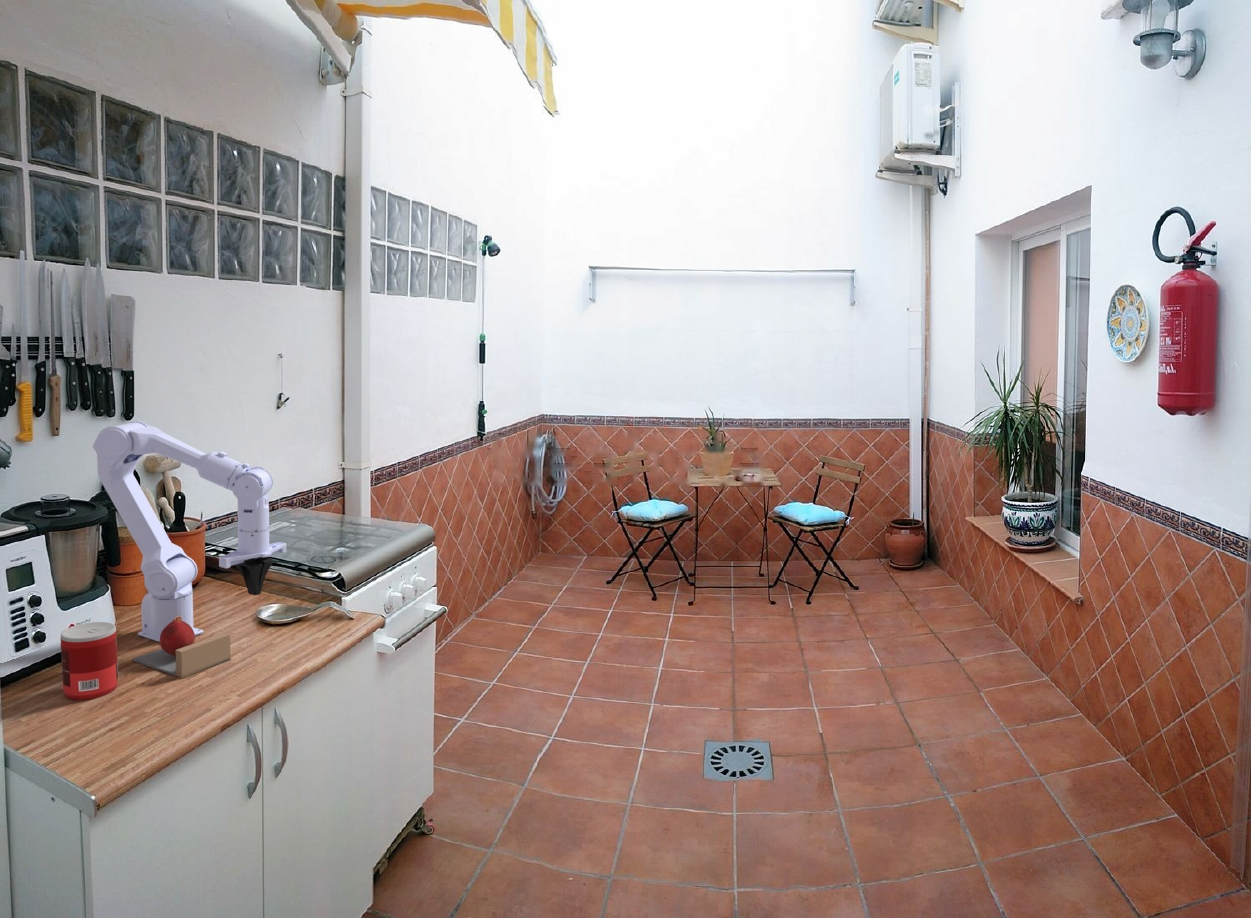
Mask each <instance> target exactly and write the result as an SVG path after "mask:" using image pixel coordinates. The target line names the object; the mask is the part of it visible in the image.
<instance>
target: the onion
mask: <svg viewBox="0 0 1251 918" xmlns="http://www.w3.org/2000/svg"><path fill="white" fill-rule="evenodd" d="M181 619H182V618H181V617H180V616H177V617H175V618H174V620H173V621H172V622H171V623H169V624H168V625H167V626H166V627H165V628H164V629H163V630H162V632H161V635H160V642H159V646H160V647H161V648H160V649H163V650H164V651H165V652H167V653H168V654H170V655H173V656H175V657H176V650H177V649H180V648H183V647H186V646H189V645H191V644H194V642H195V640H196V635H195V633H194V631H193V629H192V627H191V626H190V625H189V624H187V623H186V622H183V621H181Z"/></svg>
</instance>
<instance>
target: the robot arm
mask: <svg viewBox="0 0 1251 918" xmlns="http://www.w3.org/2000/svg"><path fill="white" fill-rule="evenodd" d="M92 448H93V450H94V452H95V453H96V460H97V461H96V463H97V464H96V465H97V476H98V478H99V480H100V482H101V485H102V486H103V487H104V490H105V491H106V493H107V495H108V496H109V498H110V500H111V502H112V503H113V505H114V507H115V509H116V510H117V512H118V515H119V516H120V518H121V519H122V521H123V523H124V525H125V526H126V528H127V530H128V531H129V533H130V535H131V538H133V541H134V542H135V544H136V546H137V547H138V549H139V551H140V552H141V554H142V559H141V564H140V571H141V572H142V575H143V578H144V579H143V580H144V586H145V587H144V588H145V589H146V590H147V593H145V595H144V596H143V598H142V601H141V604H140V605H141V609H140V610H141V631H139V632H138V633H137V635H138V636H141V637H143V638H146V639H149V640H152V641H156V642H158V643H160V635H161V632H162V630H163V629H164V628H165V627H166V626H167V625H168V624H169V623H171V622H172V621H173V620H174V618H175V617H177V616H180V617H181V618H182V619H181V621H183V622H186V623H187V624H189V625H190V626H191V627H192V629H193V631H194V633H195V636H197V635H200V634H203V633H204V630H203V629H201V628H200V629H199V628H197V627H194V601H193V600H194V599H193V597H194V596H193V586H192V584H193V583H192V582H193V581H194V580H196V577H197V575H198V571H199V570H198V565H197V563H196V562H195V561H194V559H193V558H191V557H189V556H188V555H187V554H186V553H185V552H184V551H185V550H184V549H183V548H182V547H181V546H179V545H177V544H174V543H172V541H171V539H170V538H169V535H168V534H167V532H166V531H165V529H164V527H163V526H162V525H163V524H162V523H161V522H160V520H159V518H158V516H157V514H156V512H155V511H154V509H153V508H152V505H151V504H150V502H149V500H148V498H147V496H146V495H145V493H144V491H143V489H142V488H141V486H140V484H139V482H138V480H137V479H136V477H135V475H134V471H135V469H136V468H137V464H138V462H139V461H140V459H141V458H142V457H143V456H144V455H149V454H157V455H161V456H163V457H166V458H169V459H171V460H173V461H175V462H176V461H177V462H178V463H181V464H184V465H186V466H189V467H191V468H194V469H196V470H197V473H198V475H199V476H200V478H201V479H203V480H206V481H209V482H211V483H212V484H214V485H218V486H219V487H221V488H224V489H227V490H229V491H231V492H232V493H233V496H235V498H236V500H237V548H238V549H236V550H234V551H231V552H228V553H227V554H225V555H222V556H220V557H218V566H219V567H220V568H222V569H223V568H224V569H229V568H231V566H236V569H238V570H239V572H240V574H241V577H242V578H243V581H244V583H245V585H246V590H247V592H248V594H249V595H252V596H258V595H260V594H261V593H262V589H263V585H264V582H265V578H266V577H267V574H268V572H269V570H270V568H271V567H272V566H273V563H274V562H273V561H274V560H273V558H271V556H273V555H276V554H279V553H281V554H284V553H287V543H286V542H282V541H278V542H273V543H270V504H269V502H270V501H269V492H270V491H271V490H272V487H273V484H274V482H273V481H274V480H273V476H272V475H271V473H270V472H268V470H266V469H264V468H263V467H262V466H253V467H251V465H250V464H249V463H247V462H244V463H242V462H239V461H238V460H235V459H233V458H231V457H228V453H227V452H225V451H223V450H222V451H219V452H217V451H211V452H208V453H205V452H203V451H201V450H200V449H197V448H195V447H194V446H191V445H189V444H187V443H185V442H183V441H181V440H179V439H178V438H175V437H173V436H171V435H169V434H168V433H166V432H164V431H163V430H161V429H160V428H158V427H156V426H153V425H148V424H146V423H145V422H143V421H138V420H134V421H130V422H127V423H123V424H118V425H113V426H111V425H110V426H107V427H105V428H102V429H101V430H100V431H99V433H98V435H97V437H96V438H95V440H94V442H93V444H92Z"/></svg>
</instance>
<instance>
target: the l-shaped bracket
mask: <svg viewBox="0 0 1251 918" xmlns="http://www.w3.org/2000/svg"><path fill="white" fill-rule="evenodd" d="M229 661H231V634H228V633H225V632H223V633H220V634H217V635H215V636H214V635H213V636H211V637H208V638H206V639H204V640H201V641H198V642H195V643H193V644H191V645H189V646H186V647H183V648H180V649H177V650H176V657H175V656H173V655H170V654H168V653H167V652H165V651H164V650H163V649H162V648H160V649H157V650H154V651H151V652H149V653H145V654H142V655H139V656H137V657H133V658H132V662H135V663H138V664H140V665H143V666H146V667H149V668H152V669H154V670H157V671H160V672H163V673H166V674H169V675H172V676H174V677H178V678H180V679H183V678H187V677H189V676H192V675H194V674H197V673H199V672H202V671H204V670H208V669H210V668H212V667H215V666H218V665H220V664H223V663H225V662H229Z"/></svg>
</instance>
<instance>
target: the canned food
mask: <svg viewBox="0 0 1251 918" xmlns="http://www.w3.org/2000/svg"><path fill="white" fill-rule="evenodd" d="M117 638H118V635H117V627H116V625H115V624H114V623H111V622H104V621H96V622H95V621H93V622H86V623H81V624H76V625H73V626H70V627H68V628H66V629H64V630H63V631H61V633H60V655H61V670H62V671H61V672H62V690H63V693H64V696H65V697H66V698H68V699H70V700H76V701H77V700H80V701H81V700H82V701H83V700H93V699H96V698H100V697H103V696H106V695H109V694H110V693H112V692H113V691H115V690H116V689H117V687H118V683H119V667H118V666H119V662H118V639H117Z"/></svg>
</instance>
